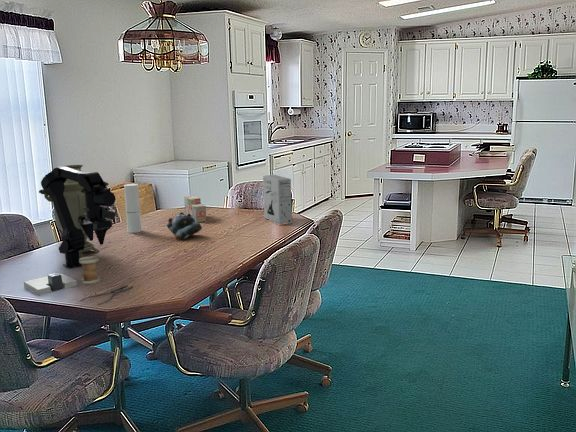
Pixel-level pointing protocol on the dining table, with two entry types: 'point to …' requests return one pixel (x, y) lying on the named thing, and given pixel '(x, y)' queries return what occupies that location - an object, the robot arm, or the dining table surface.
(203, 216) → the stack of blocks
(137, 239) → the dining table surface
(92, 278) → the bobbin
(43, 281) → the notched board
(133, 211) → the cylindrical container
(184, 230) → the dark grey lumpy cluster
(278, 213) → the cereal box
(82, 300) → the pliers
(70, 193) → the samovar
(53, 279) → the steel block
